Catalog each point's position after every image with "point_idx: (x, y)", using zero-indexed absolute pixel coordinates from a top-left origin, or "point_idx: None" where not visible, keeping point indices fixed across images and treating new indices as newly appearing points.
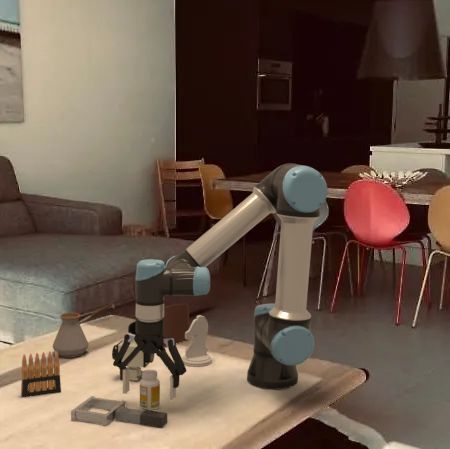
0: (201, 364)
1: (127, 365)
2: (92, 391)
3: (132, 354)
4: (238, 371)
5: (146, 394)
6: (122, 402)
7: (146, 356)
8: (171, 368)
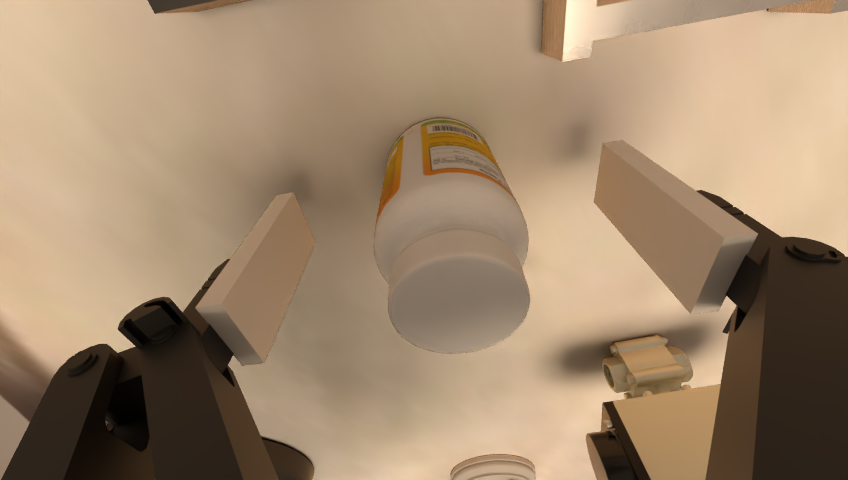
0: (464, 468)
1: (694, 391)
2: (804, 189)
3: (817, 470)
4: (358, 470)
5: (429, 151)
6: (573, 20)
7: (623, 461)
8: (159, 386)
